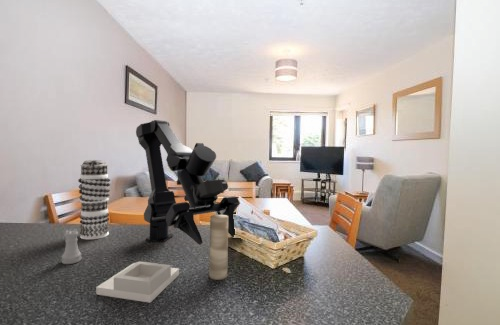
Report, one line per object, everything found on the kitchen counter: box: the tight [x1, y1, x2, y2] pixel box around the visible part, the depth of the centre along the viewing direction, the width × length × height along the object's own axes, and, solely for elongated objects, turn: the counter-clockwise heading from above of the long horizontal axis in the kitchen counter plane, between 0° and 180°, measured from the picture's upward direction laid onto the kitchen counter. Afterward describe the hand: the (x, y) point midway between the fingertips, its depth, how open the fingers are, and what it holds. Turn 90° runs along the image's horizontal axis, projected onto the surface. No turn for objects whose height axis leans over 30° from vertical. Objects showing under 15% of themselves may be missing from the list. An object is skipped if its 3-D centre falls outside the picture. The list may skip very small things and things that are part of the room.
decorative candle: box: [77, 159, 111, 240], centre depth 90 cm, size 9×9×25 cm
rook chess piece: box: [60, 228, 83, 265], centre depth 70 cm, size 4×4×8 cm
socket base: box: [95, 260, 180, 303], centre depth 59 cm, size 12×12×4 cm
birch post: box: [208, 214, 229, 281], centre depth 64 cm, size 4×4×14 cm
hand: (218, 239), depth 64 cm, fingers open, 9 cm apart
